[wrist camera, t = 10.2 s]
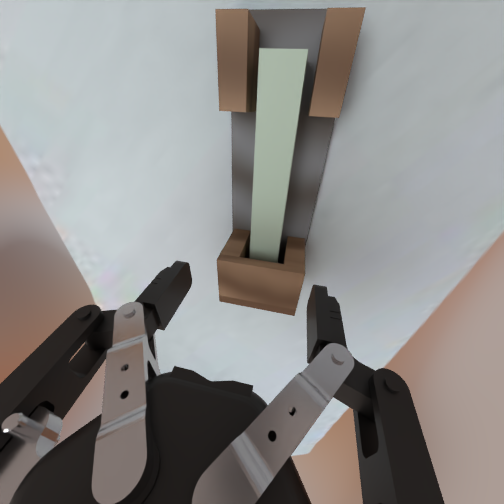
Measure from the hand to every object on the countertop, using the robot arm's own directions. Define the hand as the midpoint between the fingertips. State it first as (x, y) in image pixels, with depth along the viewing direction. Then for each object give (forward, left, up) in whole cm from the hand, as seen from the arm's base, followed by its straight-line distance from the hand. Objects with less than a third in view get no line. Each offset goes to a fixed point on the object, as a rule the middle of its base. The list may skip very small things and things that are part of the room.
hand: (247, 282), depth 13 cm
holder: (-3, 0, -13) cm, 13 cm away
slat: (-2, 0, -12) cm, 12 cm away
